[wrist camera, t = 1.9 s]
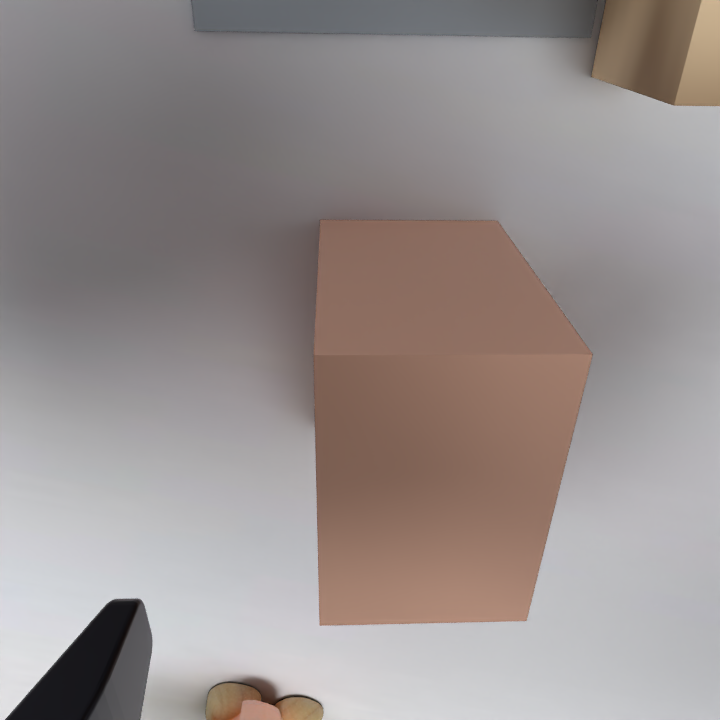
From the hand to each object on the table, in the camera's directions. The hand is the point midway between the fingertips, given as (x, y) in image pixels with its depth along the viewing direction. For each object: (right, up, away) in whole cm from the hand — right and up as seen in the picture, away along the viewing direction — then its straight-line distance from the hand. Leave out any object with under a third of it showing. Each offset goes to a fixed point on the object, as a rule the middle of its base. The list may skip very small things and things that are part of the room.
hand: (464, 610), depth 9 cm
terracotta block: (0, +4, +7) cm, 8 cm away
